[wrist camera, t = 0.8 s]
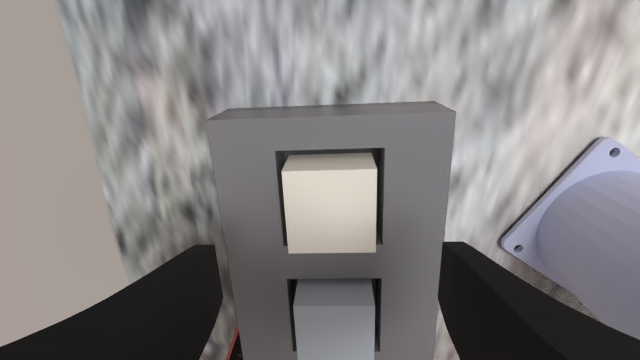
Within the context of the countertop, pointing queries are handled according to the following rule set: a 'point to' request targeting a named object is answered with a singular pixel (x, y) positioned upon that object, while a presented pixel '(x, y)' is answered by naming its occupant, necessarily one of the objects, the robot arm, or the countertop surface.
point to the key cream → (330, 203)
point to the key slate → (334, 319)
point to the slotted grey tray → (381, 266)
